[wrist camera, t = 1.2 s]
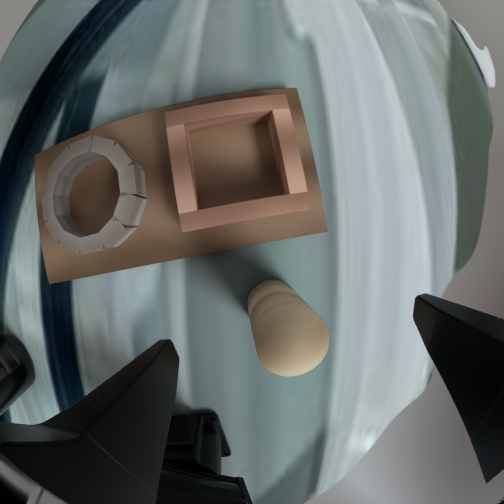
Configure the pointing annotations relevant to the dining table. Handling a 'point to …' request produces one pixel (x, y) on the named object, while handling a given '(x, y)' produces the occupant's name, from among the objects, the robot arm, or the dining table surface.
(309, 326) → the round peg
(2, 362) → the supplement bottle
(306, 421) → the dining table surface
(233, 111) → the socket board
